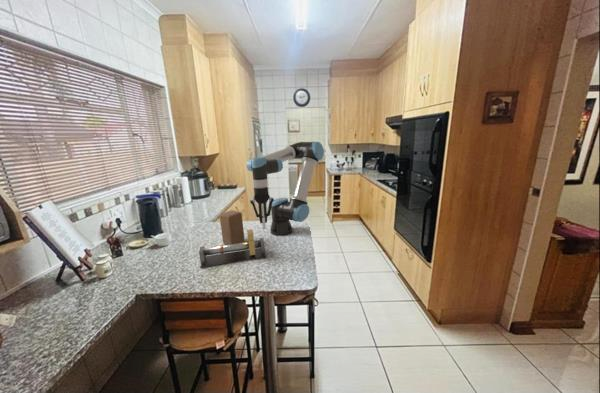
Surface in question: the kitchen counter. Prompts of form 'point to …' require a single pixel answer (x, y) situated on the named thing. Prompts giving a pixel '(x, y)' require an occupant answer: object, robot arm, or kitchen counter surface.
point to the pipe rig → (232, 256)
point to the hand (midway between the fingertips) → (264, 228)
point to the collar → (251, 242)
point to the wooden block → (232, 227)
